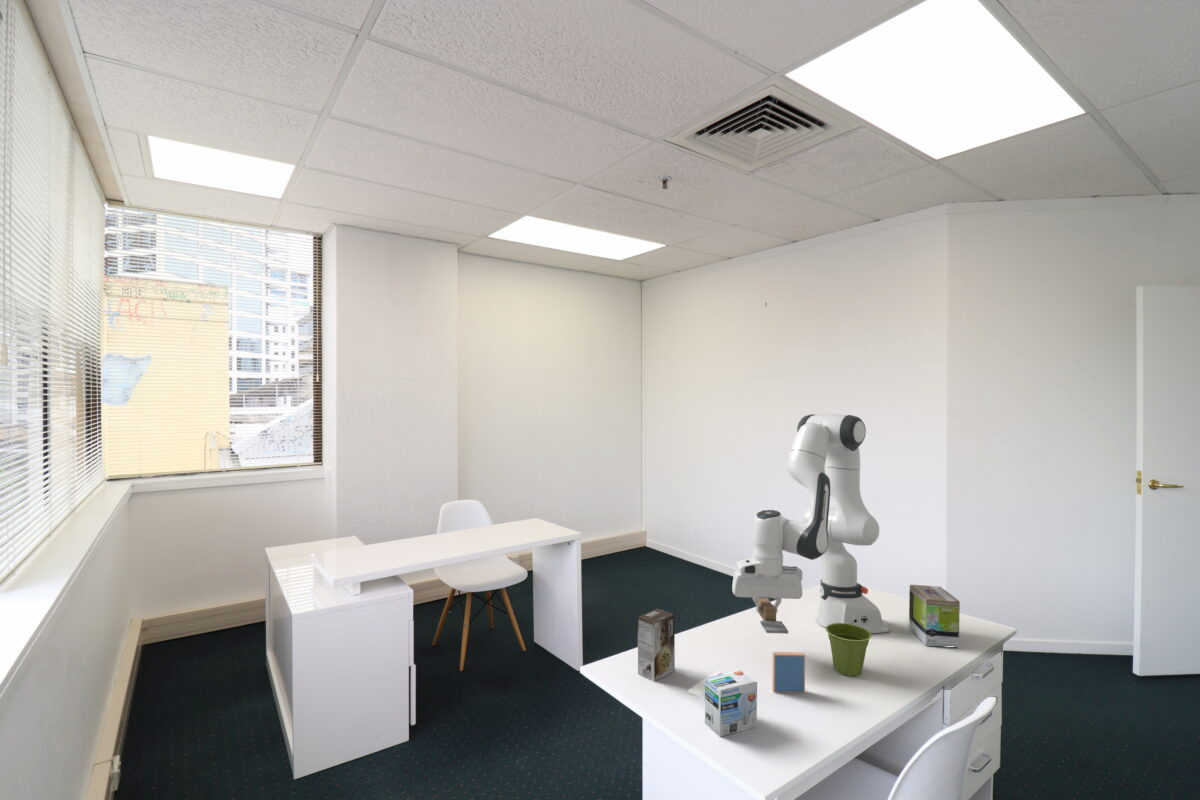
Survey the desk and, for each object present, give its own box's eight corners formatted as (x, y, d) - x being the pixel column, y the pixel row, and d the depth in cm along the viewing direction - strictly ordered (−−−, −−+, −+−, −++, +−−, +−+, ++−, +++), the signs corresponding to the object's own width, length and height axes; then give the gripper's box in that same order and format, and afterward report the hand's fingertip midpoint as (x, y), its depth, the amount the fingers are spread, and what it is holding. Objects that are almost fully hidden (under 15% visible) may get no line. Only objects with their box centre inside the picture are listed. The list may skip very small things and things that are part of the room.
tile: (803, 690, 153) (803, 652, 153) (805, 693, 151) (805, 655, 151) (772, 689, 153) (772, 651, 153) (774, 693, 152) (774, 654, 151)
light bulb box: (720, 737, 132) (720, 690, 132) (703, 722, 138) (703, 677, 138) (758, 727, 136) (758, 681, 136) (740, 712, 142) (740, 668, 142)
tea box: (960, 649, 178) (960, 600, 178) (925, 646, 180) (925, 598, 180) (940, 629, 193) (940, 585, 193) (907, 627, 195) (908, 583, 194)
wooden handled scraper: (752, 610, 179) (752, 597, 179) (772, 611, 179) (772, 598, 179) (766, 632, 162) (766, 618, 162) (788, 633, 162) (788, 619, 162)
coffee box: (657, 663, 168) (657, 607, 168) (675, 671, 163) (675, 613, 163) (636, 674, 162) (636, 616, 162) (654, 682, 157) (654, 622, 157)
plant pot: (820, 673, 162) (820, 632, 162) (832, 657, 172) (832, 619, 172) (865, 685, 155) (865, 643, 155) (875, 669, 165) (876, 629, 165)
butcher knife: (732, 679, 159) (732, 675, 159) (702, 701, 148) (703, 697, 148) (716, 673, 163) (716, 669, 163) (686, 694, 152) (686, 690, 152)
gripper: (799, 563, 177) (798, 609, 177) (731, 561, 177) (730, 607, 177) (805, 569, 170) (805, 616, 170) (735, 567, 171) (734, 614, 171)
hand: (766, 612), depth 174 cm, fingers closed on wooden handled scraper, 3 cm apart
